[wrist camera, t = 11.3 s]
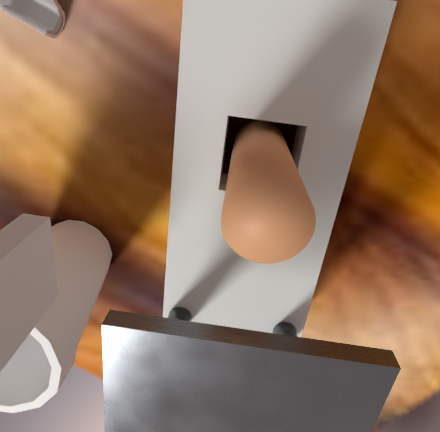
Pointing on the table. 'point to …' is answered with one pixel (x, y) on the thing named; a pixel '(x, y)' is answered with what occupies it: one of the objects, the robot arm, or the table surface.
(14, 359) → the foam cup
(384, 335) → the table surface
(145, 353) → the dark grey l-shaped piece
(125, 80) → the table surface
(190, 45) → the board
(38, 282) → the robot arm
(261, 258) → the peg
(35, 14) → the portable electronic device stand
